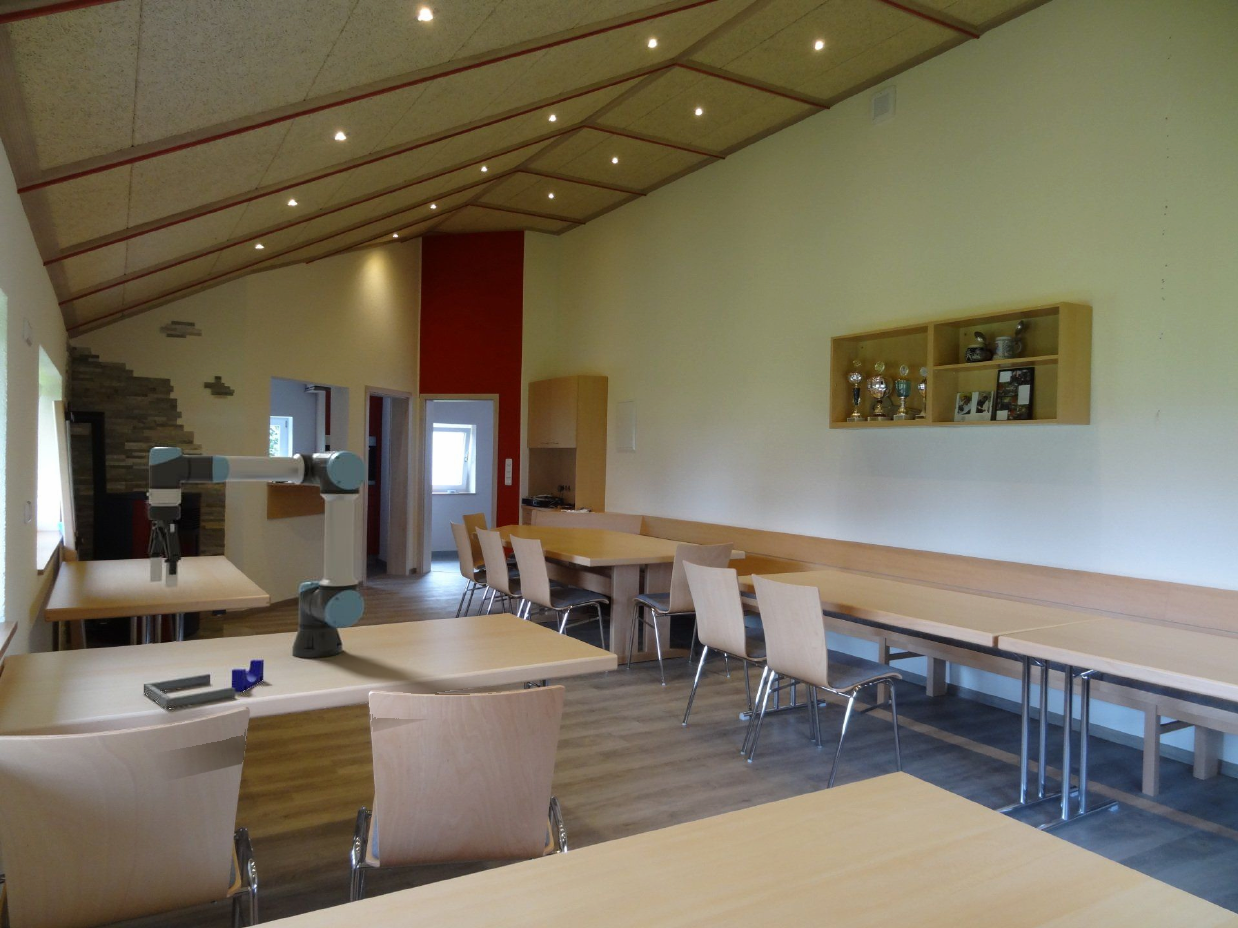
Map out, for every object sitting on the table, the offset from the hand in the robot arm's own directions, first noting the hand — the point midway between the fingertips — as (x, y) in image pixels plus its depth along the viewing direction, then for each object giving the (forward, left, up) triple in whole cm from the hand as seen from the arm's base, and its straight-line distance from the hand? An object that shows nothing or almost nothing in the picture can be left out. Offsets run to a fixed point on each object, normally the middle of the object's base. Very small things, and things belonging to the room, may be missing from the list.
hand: (163, 584), depth 219 cm
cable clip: (-17, +12, -28) cm, 35 cm away
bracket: (-3, +12, -28) cm, 30 cm away
